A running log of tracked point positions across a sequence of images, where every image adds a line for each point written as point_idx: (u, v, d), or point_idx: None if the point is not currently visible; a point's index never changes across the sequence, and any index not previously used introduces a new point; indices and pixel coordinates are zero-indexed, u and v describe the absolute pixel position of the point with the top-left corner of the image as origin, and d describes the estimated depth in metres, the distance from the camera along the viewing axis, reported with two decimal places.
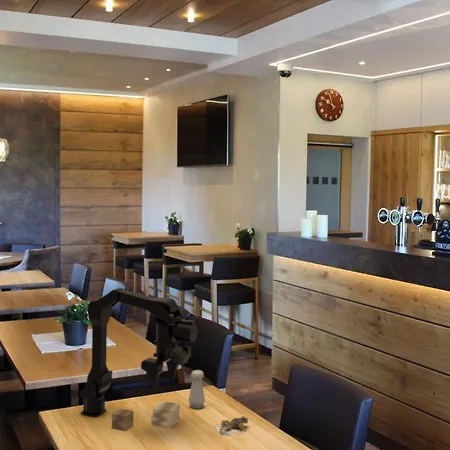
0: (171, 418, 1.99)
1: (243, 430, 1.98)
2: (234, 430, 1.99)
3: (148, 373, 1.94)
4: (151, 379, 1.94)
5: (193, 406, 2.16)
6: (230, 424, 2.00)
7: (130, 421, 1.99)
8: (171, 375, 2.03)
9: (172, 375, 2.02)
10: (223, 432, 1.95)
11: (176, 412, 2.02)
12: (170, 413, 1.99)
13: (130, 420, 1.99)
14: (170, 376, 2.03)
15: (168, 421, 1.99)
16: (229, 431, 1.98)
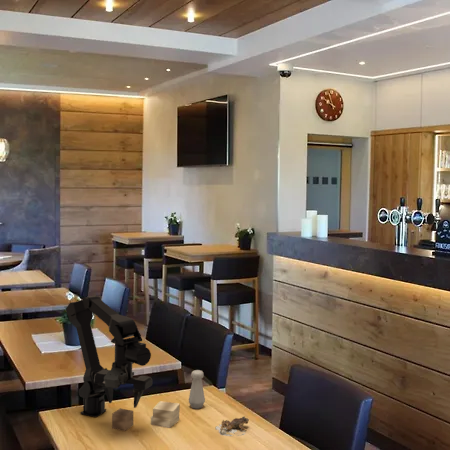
0: (171, 419, 1.99)
1: (243, 430, 1.98)
2: (234, 430, 1.98)
3: None
4: None
5: (193, 406, 2.16)
6: (230, 424, 1.99)
7: (130, 421, 1.99)
8: None
9: None
10: (223, 432, 1.95)
11: (176, 412, 2.03)
12: (170, 413, 1.99)
13: (130, 420, 1.99)
14: None
15: (168, 421, 1.99)
16: (229, 431, 1.98)
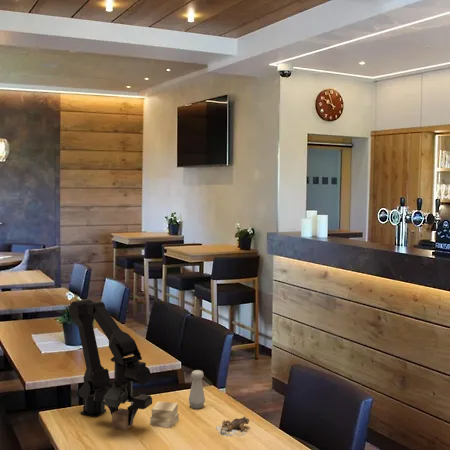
0: (170, 418, 1.99)
1: (244, 431, 1.98)
2: (235, 430, 1.98)
3: None
4: None
5: (193, 406, 2.16)
6: (231, 424, 1.99)
7: None
8: None
9: None
10: (223, 432, 1.95)
11: (175, 412, 2.03)
12: (169, 413, 1.99)
13: None
14: None
15: (167, 422, 1.99)
16: (230, 431, 1.97)
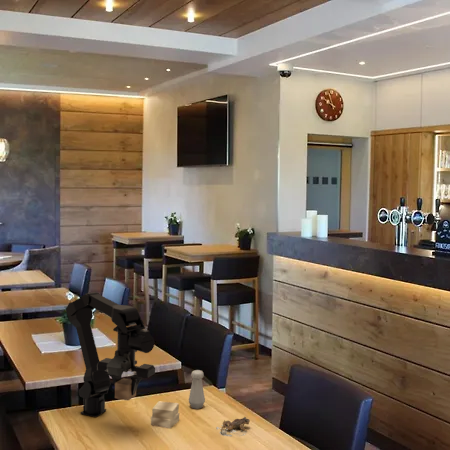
0: (171, 418, 1.99)
1: (244, 431, 1.98)
2: (235, 431, 1.98)
3: None
4: None
5: (193, 406, 2.16)
6: (231, 425, 1.99)
7: None
8: None
9: None
10: (224, 432, 1.95)
11: (175, 412, 2.03)
12: (169, 413, 1.99)
13: None
14: None
15: (168, 421, 1.99)
16: (230, 432, 1.97)
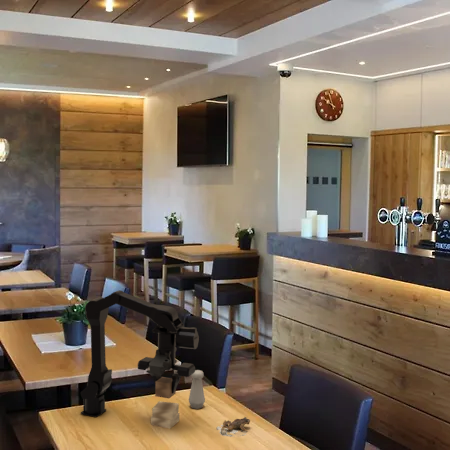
0: (170, 418, 1.99)
1: (244, 431, 1.97)
2: (235, 431, 1.98)
3: None
4: None
5: (193, 406, 2.16)
6: (231, 425, 1.99)
7: None
8: None
9: None
10: (224, 432, 1.95)
11: (175, 412, 2.02)
12: (169, 413, 1.99)
13: None
14: None
15: (168, 421, 1.99)
16: (230, 432, 1.97)
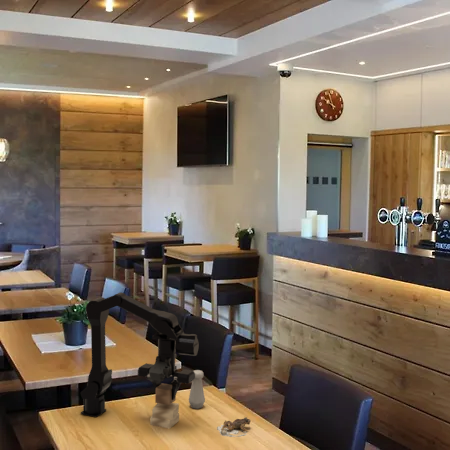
0: (171, 419, 1.99)
1: (245, 431, 1.97)
2: (236, 431, 1.98)
3: None
4: None
5: (193, 406, 2.16)
6: (232, 425, 1.99)
7: None
8: None
9: None
10: (224, 432, 1.95)
11: (175, 412, 2.02)
12: (169, 413, 1.99)
13: None
14: None
15: (167, 422, 1.99)
16: (230, 432, 1.97)
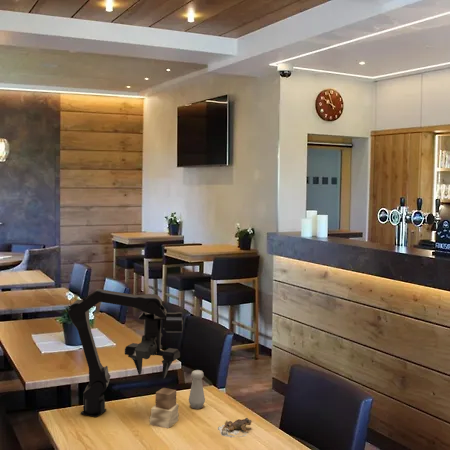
0: (169, 419, 1.99)
1: (245, 432, 1.97)
2: (236, 431, 1.98)
3: None
4: None
5: (193, 406, 2.16)
6: (233, 425, 1.99)
7: (173, 400, 2.03)
8: None
9: None
10: (224, 433, 1.95)
11: (174, 412, 2.02)
12: (168, 413, 1.99)
13: (173, 399, 2.02)
14: None
15: (166, 421, 1.99)
16: (231, 432, 1.97)
